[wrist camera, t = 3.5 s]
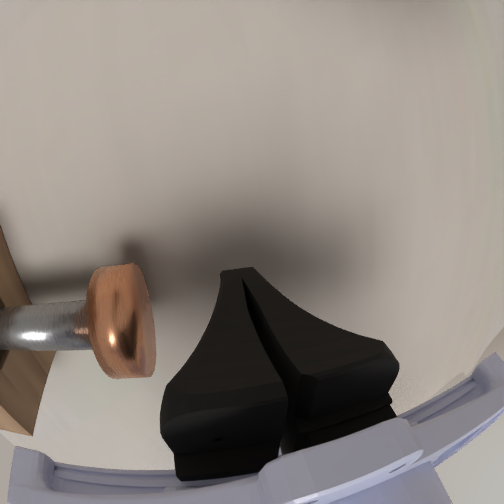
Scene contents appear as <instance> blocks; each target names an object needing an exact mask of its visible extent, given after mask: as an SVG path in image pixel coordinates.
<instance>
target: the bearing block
mask: <svg viewBox="0 0 504 504" xmlns="http://www.w3.org/2000/svg"><path fill="white" fill-rule="evenodd" d="M23 305H32V304H31V302H30V300H29V298H28V296H27V294H26V291H25V289H24V287H23V285H22V282H21V280H20V278H19V276H18V273H17V271H16V268H15V266H14V263H13V261H12V258H11V256H10V253H9V250H8V247H7V245H6V242H5V239H4V236H3V233H2V230H1V227H0V307H10V306H23ZM55 352H56V351H24V350H0V429H2V430H6V431H10V432H14V433H19V434H24V435H29V436H33V432H34V427H35V422H36V418H37V414H38V410H39V406H40V402H41V398H42V394H43V391H44V387H45V384H46V380H47V377H48V374H49V371H50V367H51V364H52V361H53V358H54V355H55Z"/></svg>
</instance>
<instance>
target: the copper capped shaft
mask: <svg viewBox="0 0 504 504" xmlns="http://www.w3.org/2000/svg"><path fill="white" fill-rule="evenodd" d="M0 350H24V351H62V350H93V351H94V354H95V356H96V359H97V361H98V363H99V365H100V367H101V368H102V370H103V371H104V372H105V373H106V374H107V375H108V376H109V377H111V378H113V379H124V378H142V377H151V376H152V375H153V373H154V370H155V364H156V338H155V328H154V320H153V313H152V307H151V302H150V297H149V293H148V289H147V285H146V282H145V279H144V276H143V274H142V271H141V269H140V268H139V266H138V265H137V264H136V263H129V264H122V265H114V266H107V267H100V268H97V269H96V270H95V271H94V272H93V274H92V276H91V279H90V281H89V285H88V290H87V299H86V300H80V301H70V302H59V303H47V304H36V305H23V306H10V307H0Z"/></svg>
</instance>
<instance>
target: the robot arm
mask: <svg viewBox="0 0 504 504" xmlns="http://www.w3.org/2000/svg"><path fill="white" fill-rule="evenodd" d="M220 278H221V282H220V289H219V294H218V298H217V302H216V305H215V308H214V311H213V314H212V317H211V319H210V322H209V324H208V326H207V328H206V330H205V332H204V334H203V336H202V338H201V340H200V342H199V343H198V345H197V347H196V348H195V350H194V352H193V353H192V354H191V356H190V357H189V359H188V360H187V361H186V363H185V364H184V366H183V367H182V368H181V369H180V371H179V372H178V373H177V374H176V375H175V376H174V377H173V379H172V380H171V381H170V382H169V383H168V384H167V385H166V388H165V392H164V395H163V400H162V404H161V411H160V433H161V435H162V438H163V439H164V441H165V442H166V444H167V445H168V446H169V448H170V449H171V451H172V452H173V453H174V462H175V470H119V469H105V468H94V467H85V466H77V465H70V464H64V463H58V462H54V461H53V460H52V459H51V458H50V457H49V456H47V455H45V454H44V453H42V452H39V451H36V450H31V449H27V448H23V447H19V446H16V447H15V450H14V455H13V461H12V467H11V473H10V481H9V490H8V501H7V502H8V504H452V501H451V499H450V498H449V496H448V494H447V492H446V490H445V488H444V486H443V484H442V482H441V480H440V478H439V477H438V475H437V473H436V471H435V469H434V467H436V466H437V465H439V464H440V463H442V462H443V461H445V460H446V459H448V458H449V457H450V456H452V455H453V454H455V453H456V452H457V451H458V450H460V449H461V448H463V447H464V446H465V445H467V444H468V443H469V442H470V441H472V440H473V439H474V438H475V437H477V436H478V435H479V434H480V433H482V432H483V431H484V430H485V429H486V428H488V427H489V426H490V425H491V424H492V423H493V422H495V420H497V419H498V418H499V417H500V416H501V415H502V414H503V412H504V361H503V360H502V359H501V358H500V357H499V355H498V354H497V353H496V352H495V353H493V354H491V355H490V356H488V357H487V358H485V359H484V360H483V361H481V362H480V363H479V364H478V366H477V367H476V368H475V369H474V371H473V372H472V375H471V376H470V377H468V378H466V379H465V380H463V381H461V382H460V383H458V384H457V385H455V386H453V387H452V388H450V389H448V390H447V391H445V392H443V393H441V394H440V395H438V396H436V397H434V398H432V399H430V400H428V401H426V402H425V403H423V404H421V405H419V406H417V407H415V408H413V409H411V410H409V411H407V412H404V413H402V414H400V415H398V416H396V414H395V412H394V411H393V409H392V407H391V406H390V404H391V403H392V398H391V397H390V395H389V393H388V392H389V390H390V388H391V386H392V385H393V383H394V381H395V379H396V377H397V374H398V372H399V362H398V361H397V360H396V358H395V357H394V355H393V353H392V352H391V350H390V349H389V348H388V347H387V345H386V344H385V343H384V342H383V341H380V340H376V339H372V338H369V337H365V336H361V335H358V334H355V333H352V332H349V331H346V330H343V329H341V328H338V327H336V326H334V325H331V324H329V323H327V322H325V321H323V320H321V319H319V318H317V317H315V316H313V315H311V314H310V313H308V312H306V311H305V310H303V309H301V308H300V307H298V306H297V305H295V304H294V303H293V302H291V301H290V300H289V299H287V298H286V297H285V296H284V295H282V294H281V293H280V292H279V291H278V290H276V289H275V288H274V287H273V286H272V285H271V284H270V283H269V282H268V281H266V280H265V279H264V278H263V277H262V276H261V275H260V274H259V273H258V272H257V271H256V270H255V269H254V268H253V267H248V268H240V269H233V270H225V271H222V272H221V273H220Z"/></svg>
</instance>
